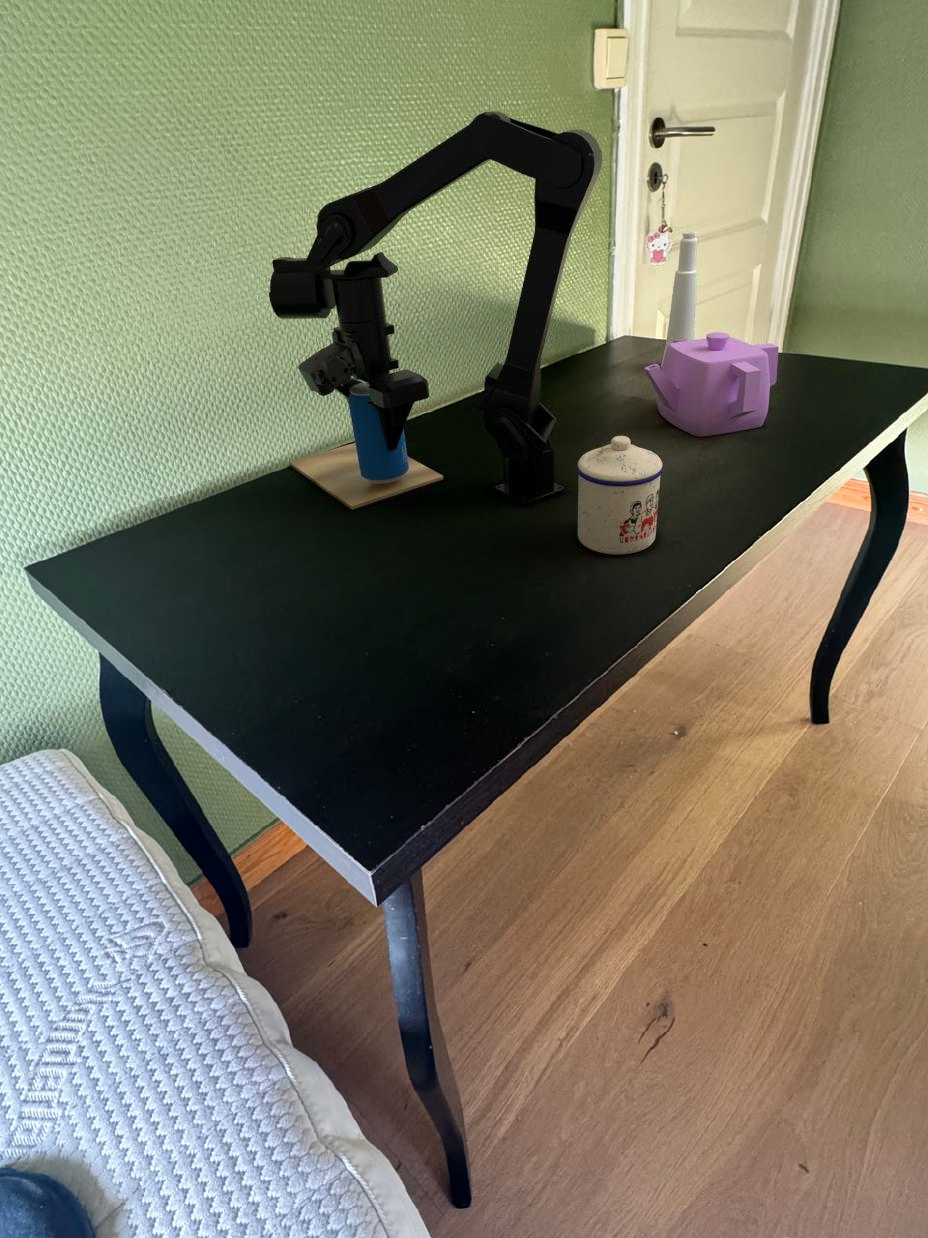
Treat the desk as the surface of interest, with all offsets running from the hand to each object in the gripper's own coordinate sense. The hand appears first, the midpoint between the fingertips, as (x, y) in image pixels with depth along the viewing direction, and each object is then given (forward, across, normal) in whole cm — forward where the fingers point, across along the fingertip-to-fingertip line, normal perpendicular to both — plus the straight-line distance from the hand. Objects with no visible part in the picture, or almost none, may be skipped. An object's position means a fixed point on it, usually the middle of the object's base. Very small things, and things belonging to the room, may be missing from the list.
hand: (379, 442), depth 99 cm
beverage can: (+5, 0, 0) cm, 5 cm away
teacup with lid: (+6, +31, +14) cm, 34 cm away
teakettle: (+6, +12, +49) cm, 51 cm away
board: (+6, -6, 0) cm, 8 cm away
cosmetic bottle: (+6, -9, +66) cm, 67 cm away
